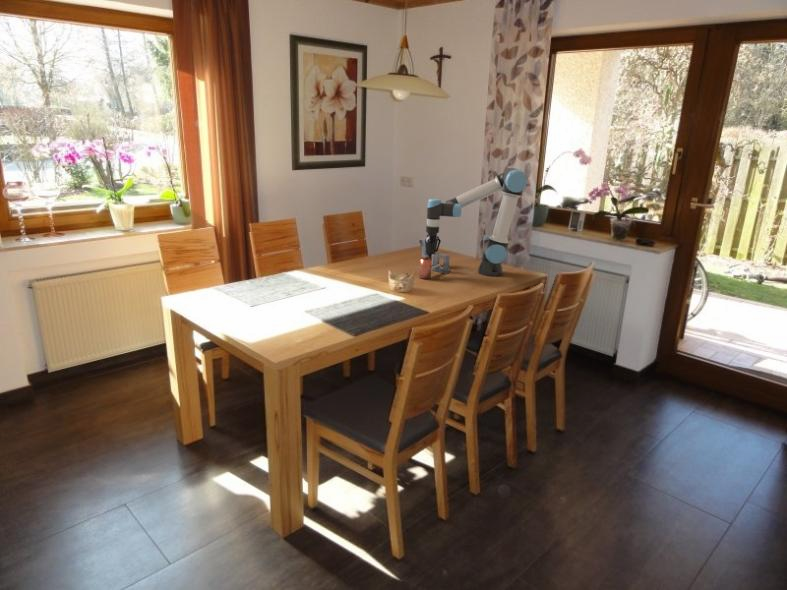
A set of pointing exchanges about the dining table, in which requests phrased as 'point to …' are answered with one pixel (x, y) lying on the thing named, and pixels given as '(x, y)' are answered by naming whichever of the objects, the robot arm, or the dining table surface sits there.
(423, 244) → the moka pot
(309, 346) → the dining table surface
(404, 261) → the dining table surface
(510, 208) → the robot arm
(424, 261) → the copper container
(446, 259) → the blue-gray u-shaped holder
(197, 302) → the dining table surface
